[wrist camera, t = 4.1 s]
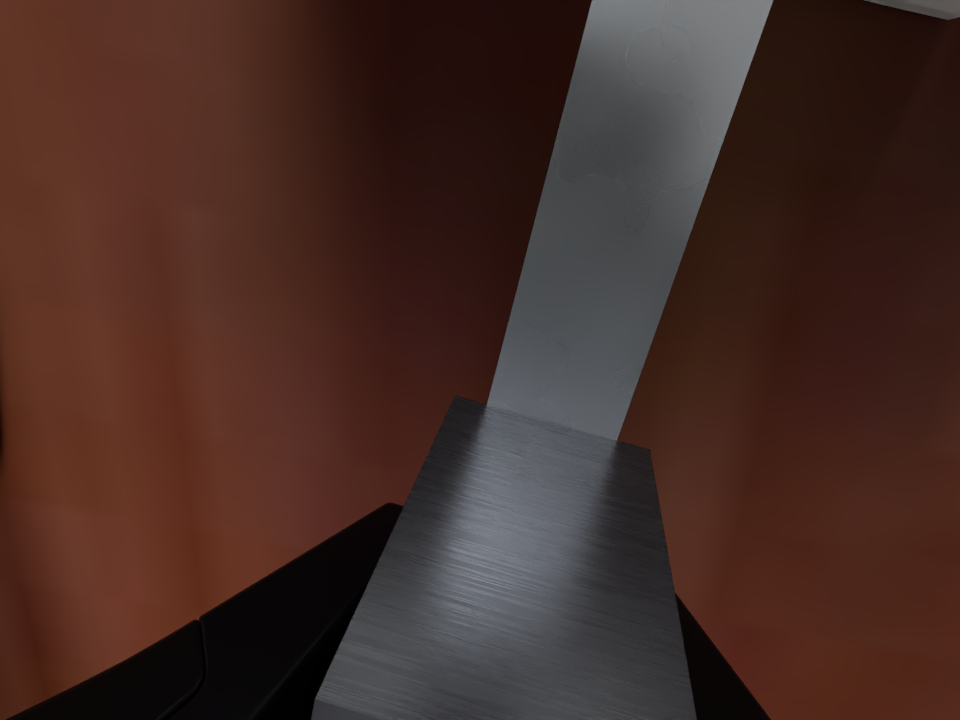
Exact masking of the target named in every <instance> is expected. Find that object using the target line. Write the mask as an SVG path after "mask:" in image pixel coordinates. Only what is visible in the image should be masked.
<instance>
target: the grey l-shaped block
mask: <svg viewBox="0 0 960 720" xmlns="http://www.w3.org/2000/svg"><path fill="white" fill-rule="evenodd" d="M772 2H773V0H592V2H591V6H590V10H589V14H588V18H587V22H586V25H585V29H584V33H583V37H582V41H581V45H580V49H579V52H578V56H577V60H576V64H575V68H574V72H573V75H572V79H571V83H570V87H569V91H568V95H567V99H566V102H565V106H564V110H563V114H562V118H561V122H560V126H559V129H558V133H557V137H556V141H555V145H554V149H553V152H552V156H551V160H550V164H549V168H548V172H547V176H546V179H545V183H544V187H543V191H542V195H541V199H540V203H539V206H538V210H537V214H536V218H535V222H534V226H533V229H532V233H531V237H530V241H529V245H528V249H527V253H526V256H525V260H524V264H523V268H522V272H521V276H520V280H519V283H518V287H517V291H516V295H515V299H514V303H513V306H512V310H511V314H510V318H509V322H508V326H507V330H506V333H505V337H504V341H503V345H502V349H501V353H500V357H499V360H498V364H497V368H496V372H495V376H494V380H493V383H492V387H491V391H490V395H489V399H488V403H487V404H483V403H480V402H476V401H473V400H469V399H465V398H462V397H458V396H455V397H454V399H453V401H452V403H451V405H450V408H449V410H448V412H447V414H446V416H445V418H444V421H443V423H442V425H441V427H440V429H439V431H438V434H437V436H436V438H435V440H434V442H433V444H432V447H431V449H430V451H429V453H428V455H427V457H426V460H425V462H424V464H423V466H422V468H421V470H420V473H419V475H418V477H417V479H416V481H415V483H414V486H413V488H412V490H411V492H410V494H409V496H408V499H407V501H406V503H405V505H404V507H403V509H402V512H401V514H400V516H399V518H398V520H397V522H396V525H395V527H394V529H393V531H392V533H391V535H390V538H389V540H388V542H387V544H386V546H385V548H384V551H383V553H382V555H381V557H380V559H379V561H378V564H377V566H376V568H375V570H374V572H373V574H372V577H371V579H370V581H369V583H368V585H367V587H366V590H365V592H364V594H363V596H362V598H361V600H360V603H359V605H358V607H357V609H356V611H355V613H354V615H353V618H352V620H351V622H350V624H349V626H348V628H347V631H346V633H345V635H344V637H343V639H342V641H341V644H340V646H339V648H338V650H337V652H336V654H335V657H334V659H333V661H332V663H331V665H330V667H329V670H328V672H327V674H326V676H325V678H324V680H323V683H322V685H321V687H320V689H319V691H318V693H317V696H316V698H315V701H314V707H313V713H312V718H311V720H697V718H696V712H695V706H694V701H693V695H692V689H691V683H690V678H689V672H688V666H687V660H686V655H685V649H684V643H683V637H682V632H681V626H680V620H679V614H678V609H677V603H676V597H675V591H674V586H673V580H672V574H671V568H670V563H669V557H668V551H667V545H666V540H665V534H664V528H663V522H662V517H661V511H660V505H659V499H658V494H657V488H656V482H655V476H654V471H653V465H652V459H651V453H650V450H649V449H646V448H642V447H638V446H635V445H631V444H628V443H624V442H620V441H617V439H618V436H619V433H620V430H621V428H622V425H623V422H624V419H625V416H626V413H627V411H628V408H629V405H630V402H631V399H632V397H633V394H634V391H635V388H636V385H637V383H638V380H639V377H640V374H641V371H642V368H643V366H644V363H645V360H646V357H647V354H648V352H649V349H650V346H651V343H652V340H653V337H654V335H655V332H656V329H657V326H658V323H659V321H660V318H661V315H662V312H663V309H664V307H665V304H666V301H667V298H668V295H669V292H670V290H671V287H672V284H673V281H674V278H675V276H676V273H677V270H678V267H679V264H680V261H681V259H682V256H683V253H684V250H685V247H686V245H687V242H688V239H689V236H690V233H691V230H692V228H693V225H694V222H695V219H696V216H697V214H698V211H699V208H700V205H701V202H702V200H703V197H704V194H705V191H706V188H707V185H708V183H709V180H710V177H711V174H712V171H713V169H714V166H715V163H716V160H717V157H718V154H719V152H720V149H721V146H722V143H723V140H724V138H725V135H726V132H727V129H728V126H729V124H730V121H731V118H732V115H733V112H734V109H735V107H736V104H737V101H738V98H739V95H740V93H741V90H742V87H743V84H744V81H745V78H746V76H747V73H748V70H749V67H750V64H751V62H752V59H753V56H754V53H755V50H756V48H757V45H758V42H759V39H760V36H761V33H762V31H763V28H764V25H765V22H766V19H767V17H768V14H769V11H770V8H771V5H772Z"/></svg>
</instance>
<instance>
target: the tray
mask: <svg viewBox="0 0 960 720" xmlns="http://www.w3.org/2000/svg"><path fill="white" fill-rule="evenodd" d="M864 1H868V2H872V3H877V4H881V5H885V6H890V7H894V8H898V9H903V10H907V11H911V12H915V13H920V14H924V15H928V16H933V17H937V18H941V19H946V20H950V19H954V18H958V17H960V0H864Z"/></svg>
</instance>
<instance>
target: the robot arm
mask: <svg viewBox="0 0 960 720" xmlns="http://www.w3.org/2000/svg"><path fill="white" fill-rule="evenodd" d="M403 507H404V506H402V505H398V504H395V503H386V504H384V505H383V506H381V507H379V508H378V509H376V510H374V511H373V512H371V513H369V514H368V515H366V516H365V517H363V518H361V519H360V520H358V521H356V522H355V523H353V524H351V525H350V526H348V527H346V528H345V529H343V530H342V531H340V532H338V533H337V534H335V535H333V536H332V537H330V538H328V539H327V540H325V541H323V542H322V543H320V544H318V545H317V546H315V547H314V548H312V549H310V550H309V551H307V552H305V553H304V554H302V555H300V556H299V557H297V558H295V559H294V560H292V561H290V562H289V563H287V564H286V565H284V566H282V567H281V568H279V569H277V570H276V571H274V572H272V573H271V574H269V575H267V576H266V577H264V578H262V579H261V580H259V581H258V582H256V583H254V584H253V585H251V586H249V587H248V588H246V589H244V590H243V591H241V592H239V593H238V594H236V595H235V596H233V597H231V598H230V599H228V600H226V601H225V602H223V603H221V604H220V605H218V606H216V607H215V608H213V609H211V610H210V611H208V612H207V613H205V614H203V615H202V616H201V617H200V618H199V621H198V620H193V621H191V622H190V623H188V624H186V625H185V626H183V627H181V628H180V629H178V630H176V631H175V632H173V633H171V634H170V635H168V636H166V637H165V638H163V639H161V640H159V641H158V642H156V643H154V644H152V645H151V646H149V647H147V648H145V649H144V650H142V651H140V652H138V653H137V654H135V655H133V656H131V657H130V658H128V659H126V660H124V661H122V662H121V663H119V664H117V665H115V666H113V667H111V668H109V669H107V670H105V671H103V672H101V673H99V674H97V675H95V676H93V677H91V678H89V679H87V680H85V681H83V682H82V683H80V684H78V685H76V686H74V687H72V688H70V689H68V690H66V691H64V692H61V693H59V694H57V695H55V696H53V697H51V698H49V699H47V700H45V701H43V702H41V703H39V704H37V705H35V706H33V707H31V708H29V709H27V710H25V711H22V712H20V713H18V714H16V715H14V716H12V717H10V718H8V719H6V720H311V718H312V713H313V707H314V701H315V698H316V696H317V693H318V691H319V689H320V687H321V685H322V683H323V680H324V678H325V676H326V674H327V672H328V670H329V667H330V665H331V663H332V661H333V659H334V657H335V654H336V652H337V650H338V648H339V646H340V644H341V641H342V639H343V637H344V635H345V633H346V631H347V628H348V626H349V624H350V622H351V620H352V618H353V615H354V613H355V611H356V609H357V607H358V605H359V603H360V600H361V598H362V596H363V594H364V592H365V590H366V587H367V585H368V583H369V581H370V579H371V577H372V574H373V572H374V570H375V568H376V566H377V564H378V561H379V559H380V557H381V555H382V553H383V551H384V548H385V546H386V544H387V542H388V540H389V538H390V535H391V533H392V531H393V529H394V527H395V525H396V522H397V520H398V518H399V516H400V514H401V512H402V509H403ZM675 597H676V603H677V609H678V614H679V620H680V626H681V632H682V637H683V643H684V649H685V655H686V660H687V666H688V672H689V678H690V683H691V689H692V695H693V701H694V706H695V712H696V718H697V720H771V719H770V718H769V716H768V715H767V714H766V712H765V711H764V710H763V708H762V707H761V706H760V704H759V703H758V702H757V700H756V699H755V698H754V696H753V695H752V694H751V692H750V691H749V690H748V688H747V687H746V686H745V685H744V683H743V682H742V681H741V679H740V678H739V677H738V675H737V674H736V673H735V671H734V670H733V669H732V667H731V666H730V665H729V663H728V662H727V661H726V659H725V658H724V657H723V655H722V654H721V653H720V651H719V650H718V649H717V647H716V646H715V645H714V643H713V642H712V641H711V639H710V638H709V637H708V635H707V634H706V633H705V631H704V630H703V629H702V628H701V626H700V625H699V624H698V622H697V621H696V620H695V618H694V617H693V616H692V614H691V613H690V612H689V610H688V609H687V608H686V606H685V605H684V604H683V602H682V601H681V600H680V598H679V597H678V596H677V594H676V593H675Z"/></svg>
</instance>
